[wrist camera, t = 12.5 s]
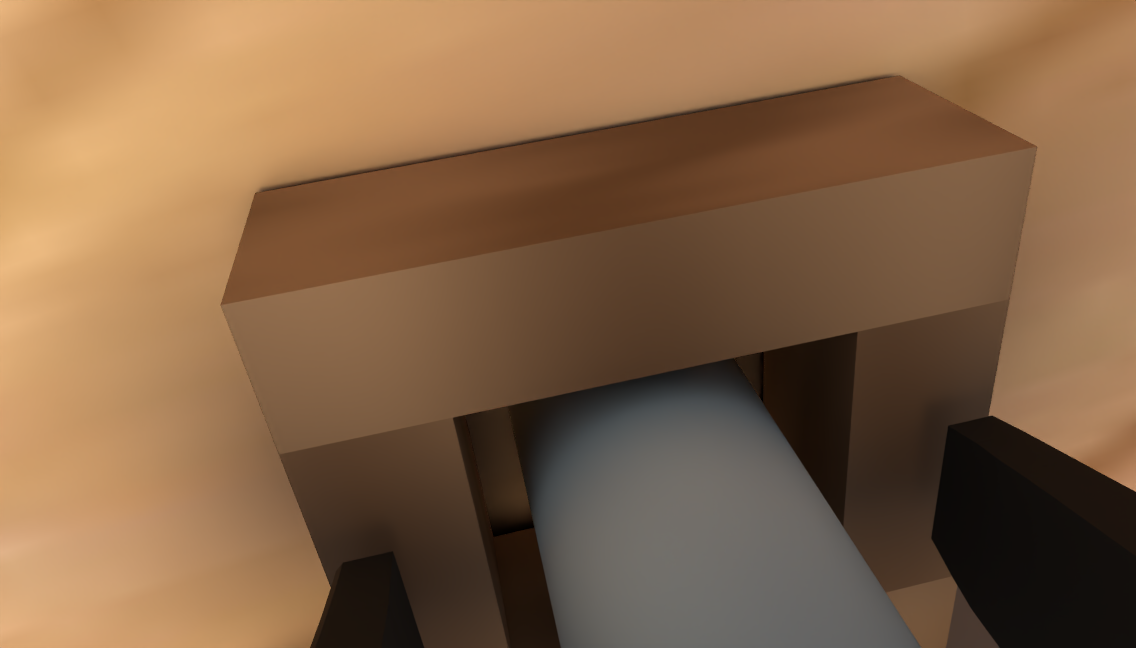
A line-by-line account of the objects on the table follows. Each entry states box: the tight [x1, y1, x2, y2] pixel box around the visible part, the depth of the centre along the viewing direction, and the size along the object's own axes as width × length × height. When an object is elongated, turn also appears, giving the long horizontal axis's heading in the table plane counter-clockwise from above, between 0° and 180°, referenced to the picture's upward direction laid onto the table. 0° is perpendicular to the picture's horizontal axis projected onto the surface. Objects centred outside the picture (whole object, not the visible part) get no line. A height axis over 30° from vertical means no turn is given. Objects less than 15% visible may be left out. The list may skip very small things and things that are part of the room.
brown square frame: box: [221, 76, 1037, 648], centre depth 13 cm, size 9×9×3 cm
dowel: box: [508, 358, 921, 648], centre depth 11 cm, size 4×4×7 cm
